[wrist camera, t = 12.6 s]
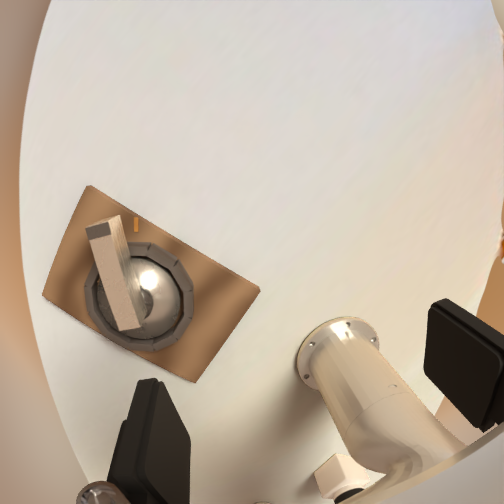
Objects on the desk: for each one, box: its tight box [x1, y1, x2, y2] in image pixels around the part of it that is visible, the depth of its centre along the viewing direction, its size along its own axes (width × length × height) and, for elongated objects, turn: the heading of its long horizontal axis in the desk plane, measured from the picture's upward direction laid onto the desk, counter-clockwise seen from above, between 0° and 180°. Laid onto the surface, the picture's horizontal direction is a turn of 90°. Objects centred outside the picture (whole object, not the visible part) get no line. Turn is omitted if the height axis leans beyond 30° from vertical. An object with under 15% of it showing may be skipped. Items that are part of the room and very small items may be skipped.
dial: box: [85, 215, 181, 339], centre depth 32 cm, size 15×10×7 cm, turn 11°
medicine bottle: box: [314, 454, 370, 504], centre depth 45 cm, size 7×7×12 cm
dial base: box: [42, 185, 260, 383], centre depth 35 cm, size 24×16×4 cm
